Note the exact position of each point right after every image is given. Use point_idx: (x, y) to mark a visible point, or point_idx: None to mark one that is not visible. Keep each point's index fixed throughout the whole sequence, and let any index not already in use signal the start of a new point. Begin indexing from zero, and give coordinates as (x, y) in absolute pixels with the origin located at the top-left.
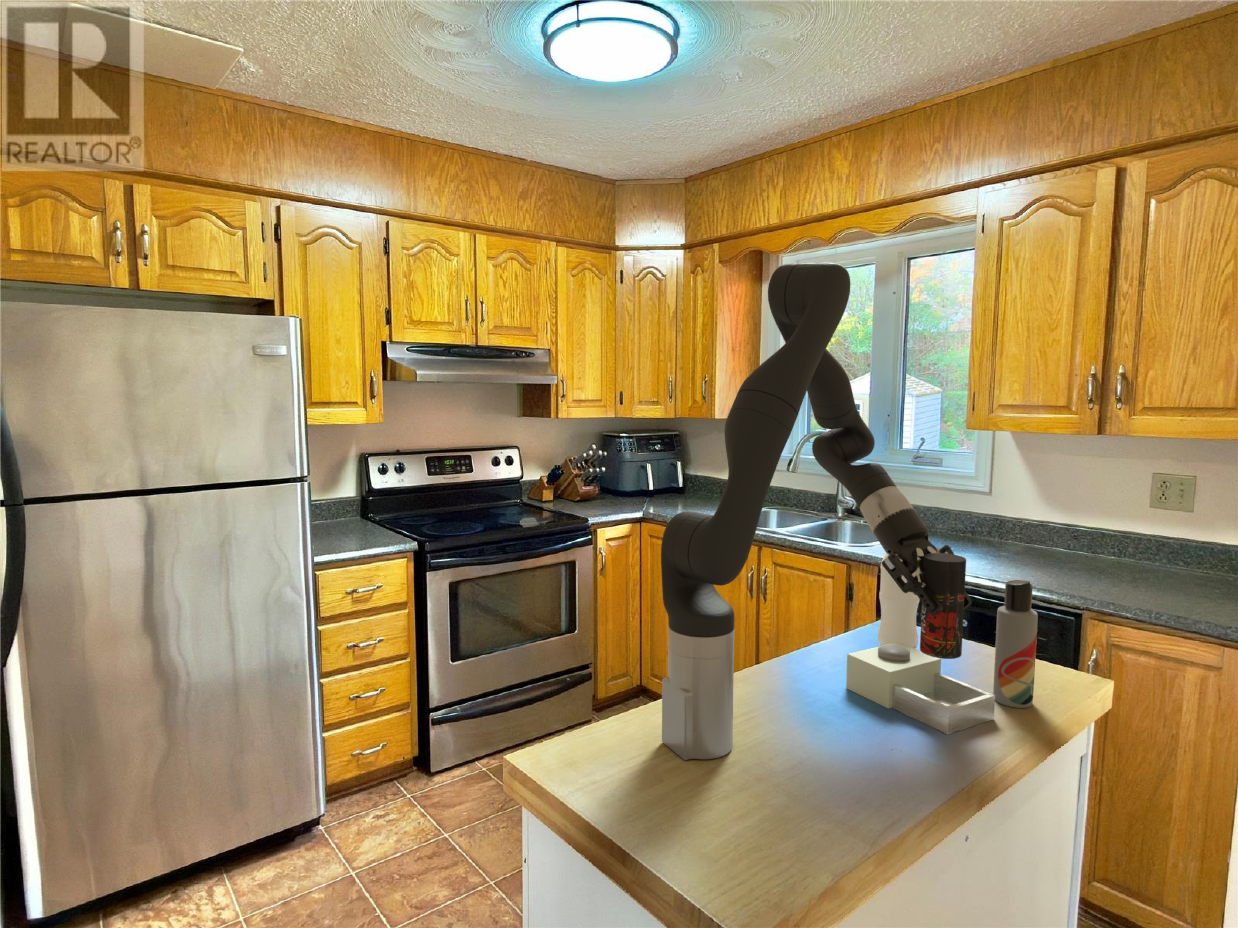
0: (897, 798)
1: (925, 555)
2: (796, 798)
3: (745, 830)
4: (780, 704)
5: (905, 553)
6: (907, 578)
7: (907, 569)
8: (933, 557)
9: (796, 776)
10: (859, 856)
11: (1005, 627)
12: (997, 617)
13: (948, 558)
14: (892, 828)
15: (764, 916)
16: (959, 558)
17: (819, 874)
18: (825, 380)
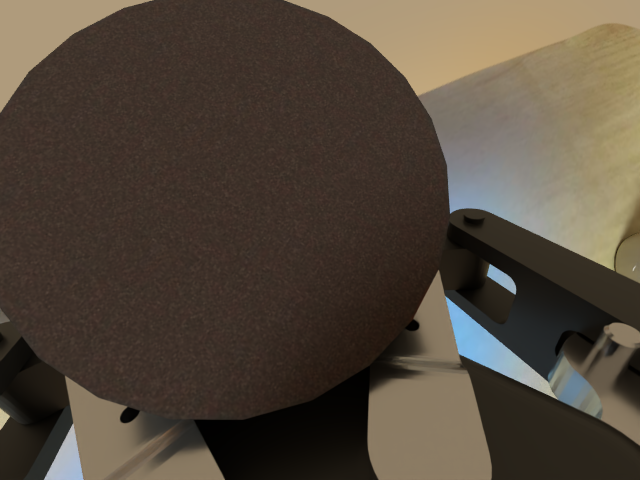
0: (463, 112)
1: (392, 317)
2: (564, 140)
3: (621, 109)
4: (520, 377)
5: (598, 450)
6: (519, 230)
7: (535, 267)
8: (364, 201)
9: (553, 176)
10: (535, 53)
11: None
12: None
13: (227, 125)
14: (491, 74)
15: (622, 25)
16: (101, 93)
17: (573, 46)
18: None
